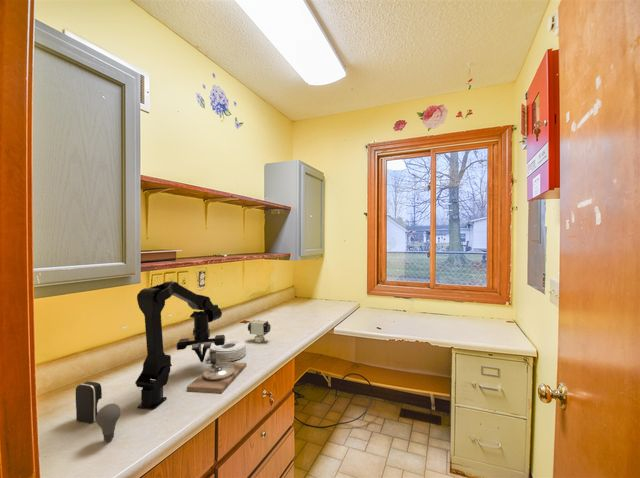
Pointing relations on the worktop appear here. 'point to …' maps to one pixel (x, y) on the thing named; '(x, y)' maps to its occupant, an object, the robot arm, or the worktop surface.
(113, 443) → the worktop surface
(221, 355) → the cable
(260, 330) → the pneumatic valve
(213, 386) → the board
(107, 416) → the light bulb
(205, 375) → the metal disc with handle
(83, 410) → the battery charger
